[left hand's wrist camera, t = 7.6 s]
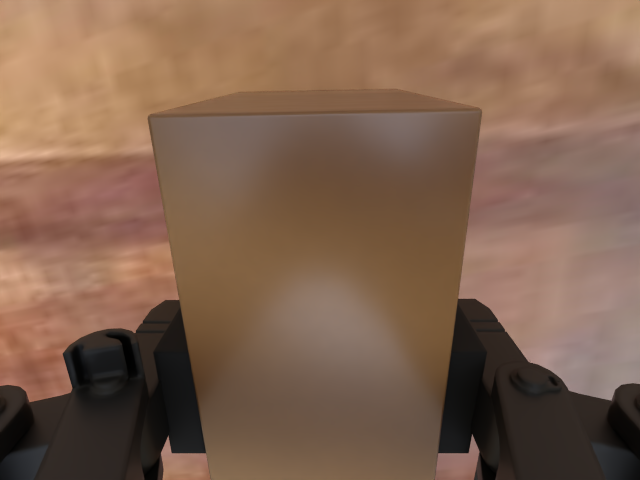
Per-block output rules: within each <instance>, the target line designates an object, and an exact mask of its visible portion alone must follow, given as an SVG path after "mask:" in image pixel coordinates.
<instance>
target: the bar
mask: <svg viewBox="0 0 640 480" xmlns="http://www.w3.org/2000/svg"><path fill="white" fill-rule="evenodd" d="M481 116H482V110H481V109H480V108H477V107H472V106H468V105H464V104H459V103H455V102H451V101H446V100H442V99H438V98H433V97H429V96H425V95H420V94H416V93H411V92H407V91H403V90H398V89H369V90H318V91H267V92H238V93H234V94H230V95H226V96H222V97H218V98H214V99H210V100H206V101H202V102H198V103H194V104H190V105H186V106H182V107H178V108H174V109H170V110H166V111H162V112H158V113H154V114H150V115H148V123H149V129H150V134H151V140H152V146H153V151H154V157H155V163H156V169H157V174H158V180H159V186H160V192H161V197H162V203H163V209H164V214H165V220H166V226H167V232H168V237H169V243H170V249H171V255H172V260H173V266H174V272H175V277H176V283H177V289H178V295H179V300H180V306H181V312H182V318H183V323H184V329H185V335H186V340H187V346H188V352H189V358H190V363H191V369H192V375H193V380H194V386H195V392H196V398H197V403H198V409H199V415H200V421H201V426H202V432H203V438H204V443H205V449H206V455H207V461H208V466H209V472H210V478H211V480H435V473H436V465H437V458H438V450H439V442H440V434H441V426H442V419H443V411H444V403H445V395H446V388H447V380H448V372H449V364H450V357H451V349H452V341H453V333H454V326H455V318H456V310H457V302H458V295H459V287H460V279H461V271H462V263H463V256H464V248H465V240H466V232H467V225H468V217H469V209H470V201H471V194H472V186H473V178H474V170H475V163H476V155H477V147H478V139H479V132H480V124H481Z"/></svg>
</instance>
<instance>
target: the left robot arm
mask: <svg viewBox="0 0 640 480" xmlns="http://www.w3.org/2000/svg"><path fill="white" fill-rule="evenodd" d="M63 356H64V360H65V363H66V367H67V370H68V374H69V377H70V381H71V384H72V388H73V389H72V391H71V393H69V394H65V395H62V396H57V397H52V398H48V399H43V400H39V401H34V402H29V400H28V397H27V394H26V392H25V391H24V390H23V389H22V388H21V387H18V386H12V385H5V386H0V480H162V479H163V463H162V457H161V451H162V449H163V447H164V444H165V442H166V440H167V437H168V435H169V440H170V446H171V451H172V453H206V449H205V443H204V438H203V432H202V426H201V421H200V415H199V409H198V403H197V398H196V392H195V386H194V380H193V375H192V369H191V363H190V358H189V352H188V346H187V340H186V335H185V329H184V323H183V318H182V312H181V306H180V300H165V301H164V302H162V303H161V304H159V305H158V306H156V307H155V308H153V309H152V310H151V311H150V312H149V314H148V315H147V316H146V318H145V319H144V320H143V324H141V325H140V326H139V327H138V329H137V330H136V333H133V332H132V331H130V330H126V329H106V330H102V331H97V332H94V333H91V334H89V335H86V336H84V337H82V338H80V339H78V340H77V341H75V342H74V343H72V344H71V345H70V346H69V347H68V348H67V349H66V350H65V352H64V353H63ZM472 434H473V437H474V439H475V441H476V444H477V446H478V448H479V451H480V452H479V457H478V462H477V467H476V472H475V477H474V480H640V384H634V383H632V384H625V385H621V386H620V387H618V388H617V389H616V390H615V392H614V395H613V398H612V401H610V400H605V399H601V398H596V397H591V396H587V395H582V394H578V393H574V392H571V391H569V390H568V388H567V387H566V385H565V384H564V382H563V381H562V380H561V378H559V377H558V376H557V375H555V374H554V373H553V372H551V371H550V370H548V369H546V368H544V367H542V366H539V365H537V364H533V363H529V362H528V361H527V359H526V358H525V357H524V355H523V354H522V352H521V351H520V350H519V348H518V347H517V346H516V344H515V343H514V341H513V340H512V339H511V337H510V336H509V335H508V333H507V332H505V329H504V328H503V326H502V325H501V324H500V322H498V320H497V318H496V317H495V315H494V314H493V313H492V311H491V310H490V309H489V308H488V307H486V306H485V305H483V304H482V303H480V302H479V301H477V300H476V299H458V302H457V310H456V318H455V326H454V333H453V341H452V349H451V357H450V364H449V372H448V380H447V388H446V395H445V403H444V411H443V419H442V426H441V434H440V442H439V450H438V453H469V448H470V442H471V437H472Z"/></svg>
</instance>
